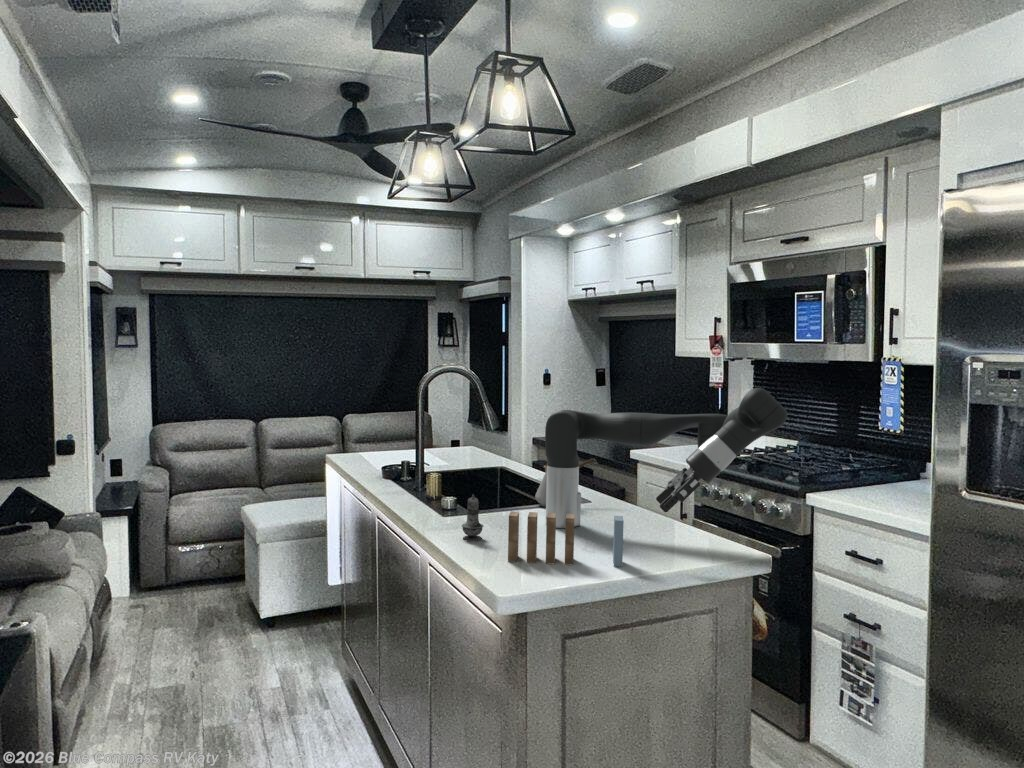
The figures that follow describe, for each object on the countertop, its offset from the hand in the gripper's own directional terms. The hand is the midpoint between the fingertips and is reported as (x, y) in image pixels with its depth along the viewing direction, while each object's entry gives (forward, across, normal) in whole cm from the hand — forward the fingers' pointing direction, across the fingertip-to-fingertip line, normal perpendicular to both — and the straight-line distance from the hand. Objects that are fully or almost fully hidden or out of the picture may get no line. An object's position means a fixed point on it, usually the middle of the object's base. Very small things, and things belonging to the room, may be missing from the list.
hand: (660, 505), depth 175 cm
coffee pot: (+27, +67, +6) cm, 72 cm away
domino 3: (+28, 0, +8) cm, 29 cm away
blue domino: (+17, 0, -3) cm, 17 cm away
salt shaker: (+44, +17, +23) cm, 52 cm away
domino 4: (+25, 0, +5) cm, 26 cm away
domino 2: (+31, 0, +11) cm, 33 cm away
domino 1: (+34, 0, +14) cm, 37 cm away
